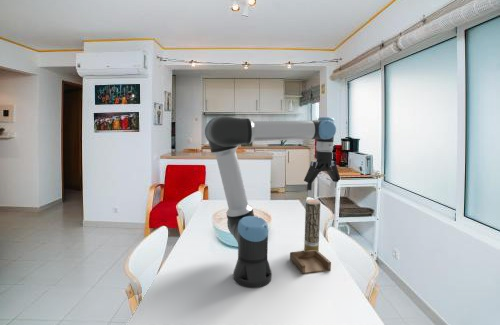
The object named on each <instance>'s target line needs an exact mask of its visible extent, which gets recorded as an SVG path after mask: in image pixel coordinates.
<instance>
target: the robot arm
mask: <svg viewBox="0 0 500 325" xmlns="http://www.w3.org/2000/svg"><path fill="white" fill-rule="evenodd" d="M335 121H336V120H335V118H333V117H328V116H327V117H318V118H317V120H316V119H315V120H313V119H311V120H309V119H308V120H252V119H250V118H242V117H241V118H240V117H232V116H227V115H226V116H224V115H223V116H217V117H213V118H211V119H210V120H209V121H208V122H207V124H206V126H205V128H204V135H205V136H204V137H205V138H206V141H208V145H209V149H210V152H211V153H210V154H212V155H214V156H215V158H216V161H217V166H218V170H219V174H220V178H221V183H222V186H223V190H224V195H225V199H226V203H227V207H228V209H227V211H226V219H227V220H226V221H227V223H226V224H227V229H228V231H229V232H230V234H231V235H232V236H233V238H234V240H235V241H236V242H237V246H238V247H237V260H236V264H235V267H234V269H233V280H234V282H235V283H236V284H238V285H240V286H241V287H245V288H251V289H253V288H254V289H255V288H260V287H264V286H267V285H269V283H270V282H271V281H272V269H271V266H270V263H269V260H268V247H269V246H268V244H269V242H268V240H269V226H268V222H267V221H266V220H265V219H264V218H262V217H259V216H255V213H254V208H253V206H252V205H251V204H249V202H248V199H247V195H246V194H247V193H246V190H245V185H244V180H243V177H242V173H241V169H240V163H239V160H238V159H239V158H238V155H237V149H238V148H239V146H242V145H250V144H252V142H267V141H295V140H297V141H298V140H316V152H315V159H316V161H312V160H311V161H310V165H309V168H308V170H307V172H306V174H305V177H304V179H303V181H304V182H306V183H307V185H306V186H307V187H306V188H307V190H308V191H307V197H309V198H314V186H315V185H314V183H313V182H314V181H315V180H316V178H317V177H318V175H319V174H320V173H321V172H326V173H327V174H328V176H329V177H330V179H331V181H330V186H329V195H331V196H335V195H336V188H337V183H338V182H339V181H340V180H341V176H340V173H339V169H338V167H337V161H336V160H333V157H334V156H333V154H334V153H333V152H332V151H333V150H334V138H335V135H336V132H337V126H336V124H335V123H336V122H335Z"/></svg>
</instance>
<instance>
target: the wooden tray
mask: <svg viewBox="0 0 500 325" xmlns="http://www.w3.org/2000/svg"><path fill="white" fill-rule="evenodd" d="M289 261H290V262H291V263H292V264H293V265H294V267H295V268H297V270H298V271H299V272H300V273H301V274H302V275H307V274H315V273H322V272H328V271H329V272H330V271H331V270H332V262H331V261H330V260H329V259H328V258H326V257H325V255H323V254H322V253H321V252H320V251H317V250H307V251H304V250H299V251H298V250H297V251H291V252H289Z"/></svg>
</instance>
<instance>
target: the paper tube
mask: <svg viewBox="0 0 500 325" xmlns="http://www.w3.org/2000/svg"><path fill="white" fill-rule="evenodd" d="M304 213H305V215H304V216H305V217H304V218H305V219H304V220H305V221H304V244H303V245H304V250H303V251H307V250H317V251H319V249H320V247H319V245H320V242H319V241H320V229H321V228H320V225H321V224H320V223H321V200H317V199H306V201H305V212H304ZM319 252H320V251H319Z"/></svg>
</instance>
